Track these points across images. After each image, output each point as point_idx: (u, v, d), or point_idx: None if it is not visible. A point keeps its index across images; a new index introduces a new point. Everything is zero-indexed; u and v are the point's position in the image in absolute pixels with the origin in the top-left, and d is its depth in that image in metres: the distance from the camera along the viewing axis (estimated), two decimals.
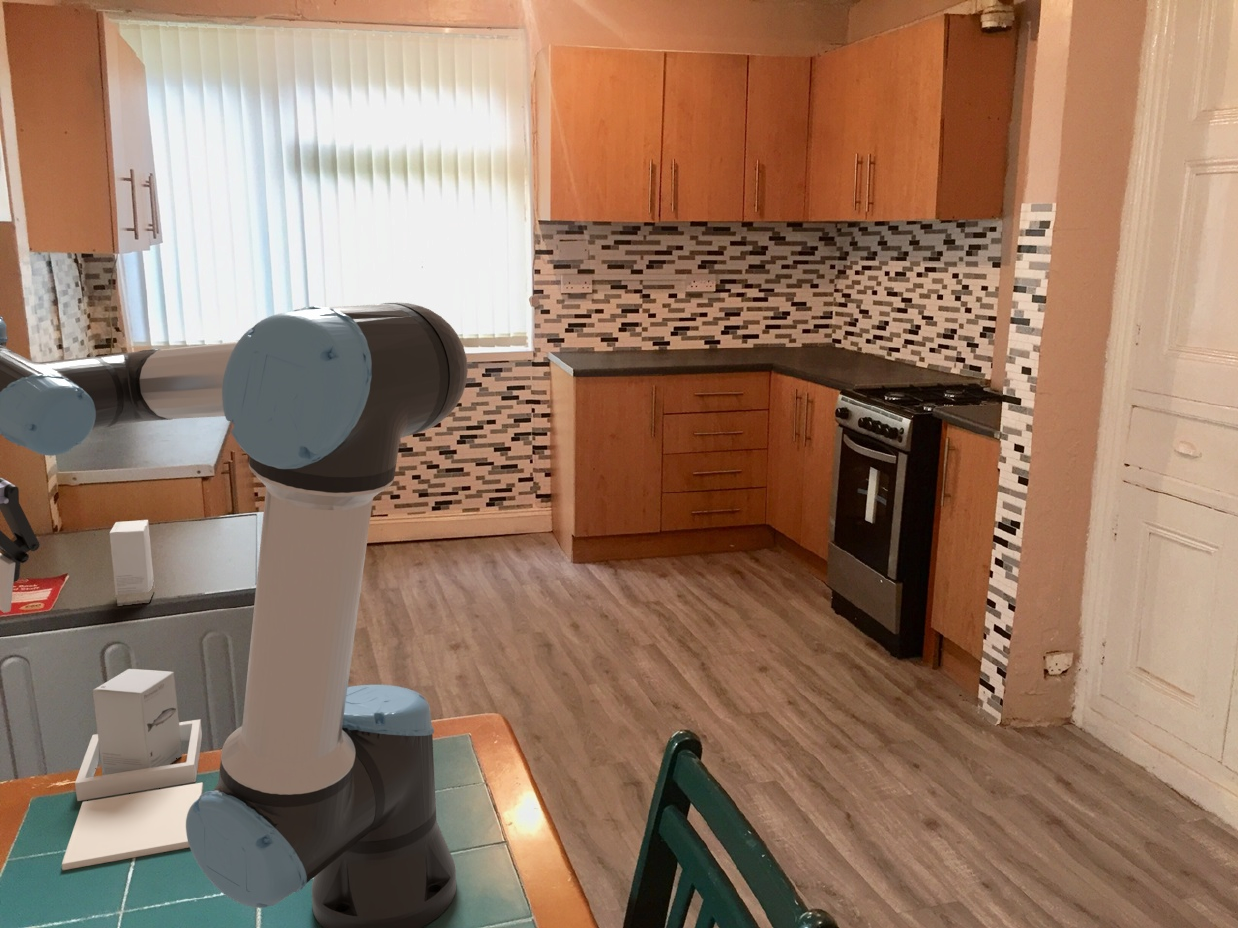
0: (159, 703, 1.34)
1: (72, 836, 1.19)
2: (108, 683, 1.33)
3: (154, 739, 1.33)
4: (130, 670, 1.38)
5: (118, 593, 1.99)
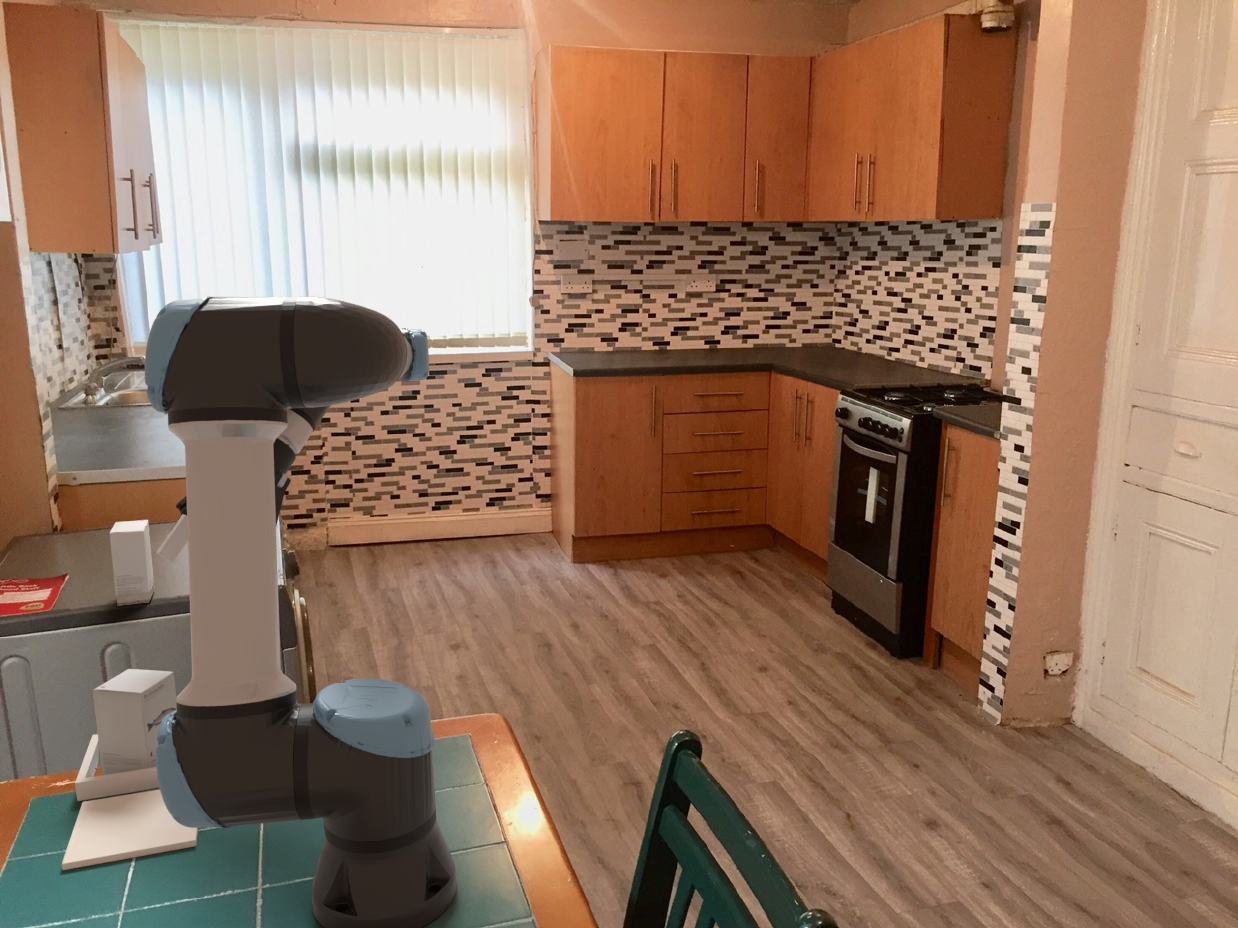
0: (159, 703, 1.34)
1: (72, 836, 1.19)
2: (108, 683, 1.33)
3: (154, 739, 1.33)
4: (130, 670, 1.38)
5: (118, 593, 1.99)
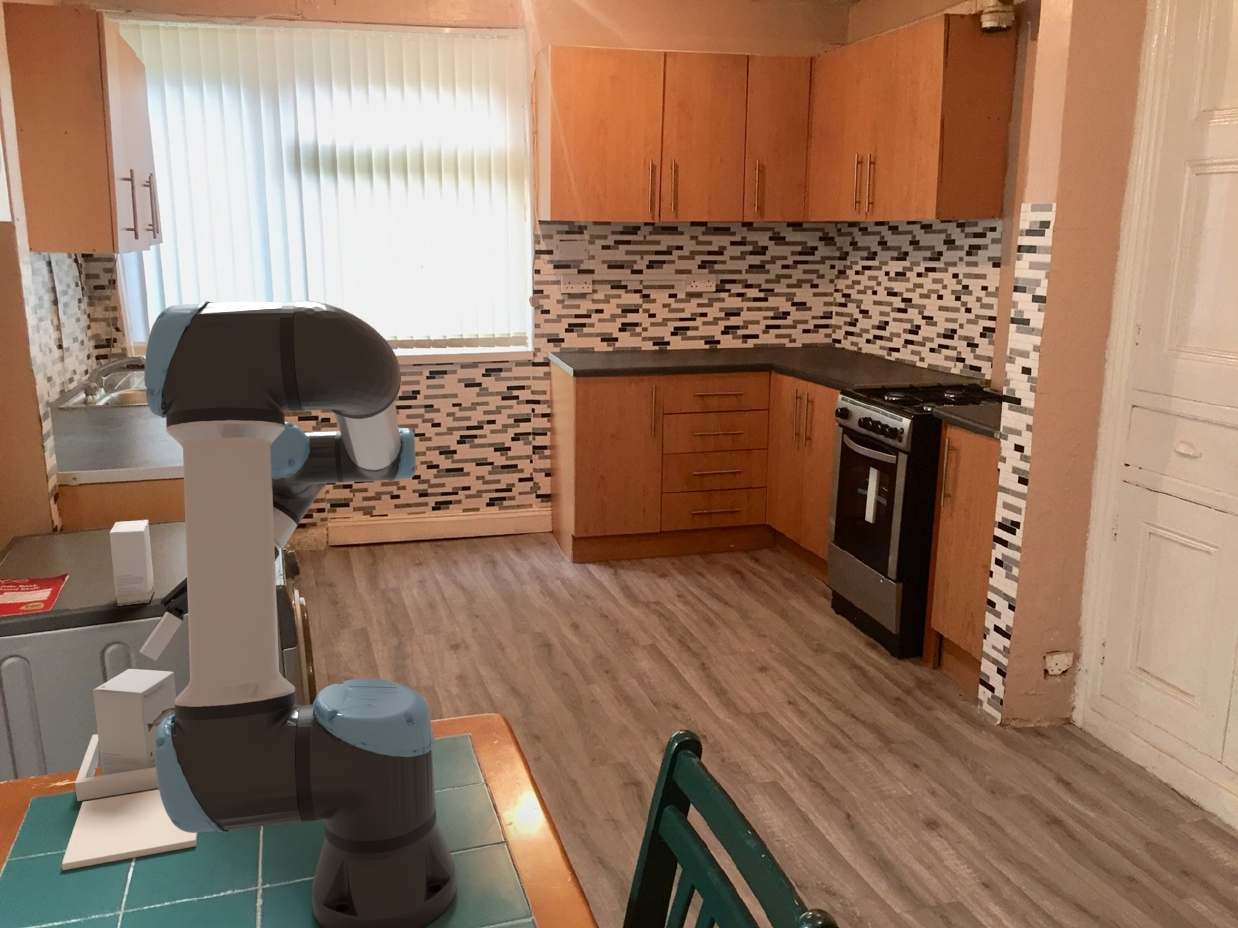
0: (159, 703, 1.34)
1: (72, 836, 1.19)
2: (108, 683, 1.33)
3: (154, 739, 1.33)
4: (130, 670, 1.38)
5: (118, 593, 1.99)
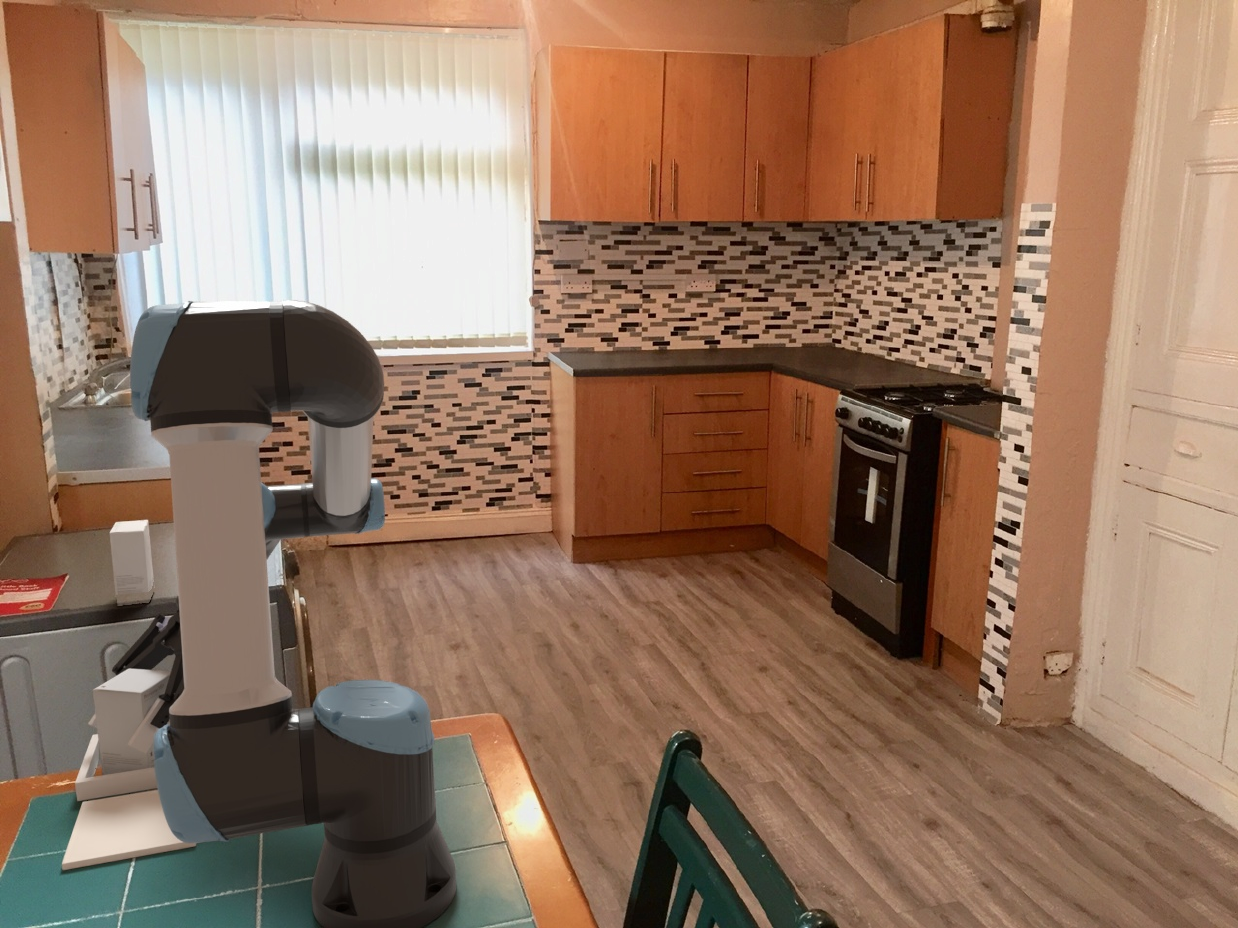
0: None
1: (72, 836, 1.19)
2: (108, 683, 1.33)
3: None
4: (130, 670, 1.38)
5: (118, 593, 1.99)
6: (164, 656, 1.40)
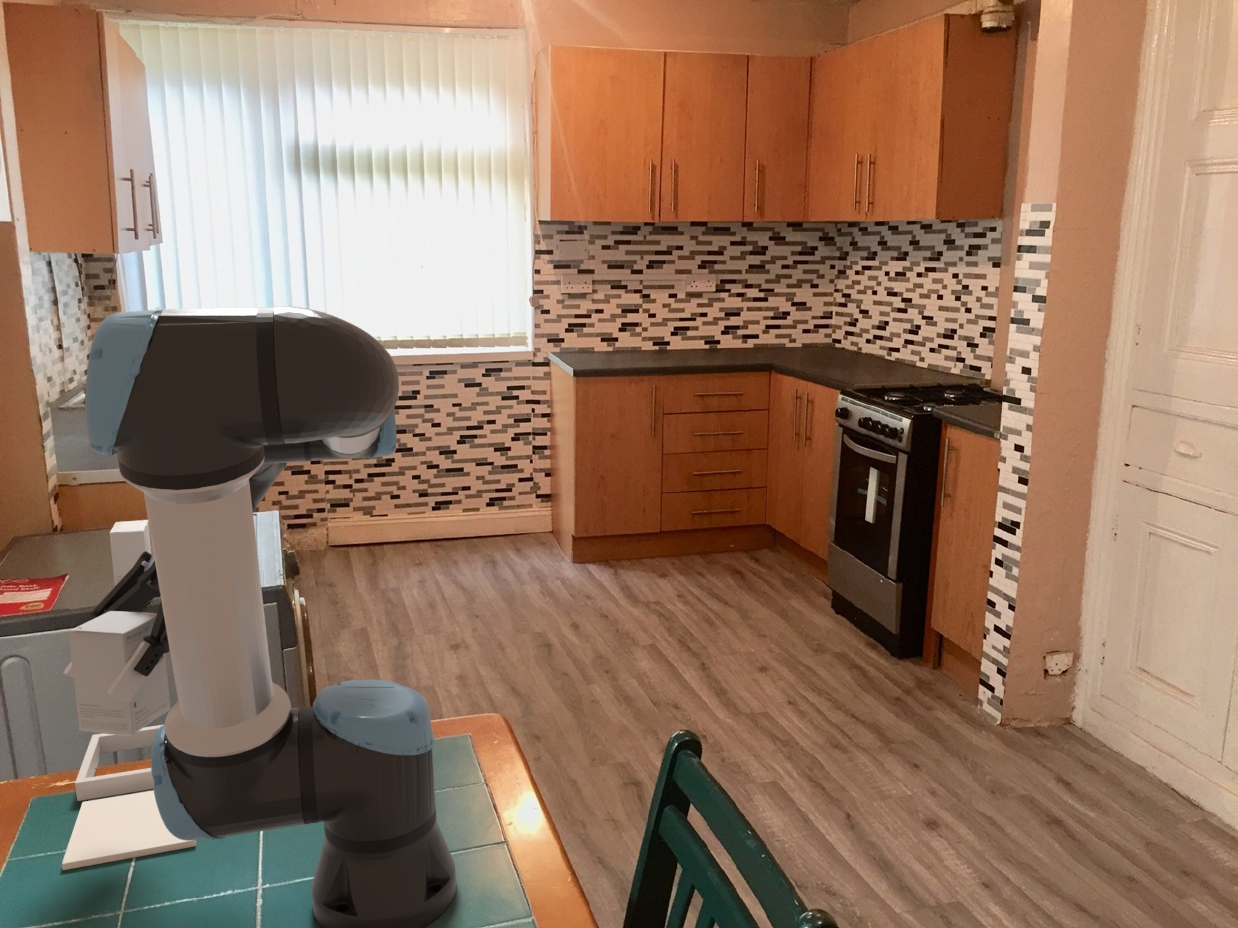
0: None
1: (72, 836, 1.19)
2: (85, 625, 1.17)
3: None
4: (111, 612, 1.21)
5: None
6: (150, 598, 1.24)
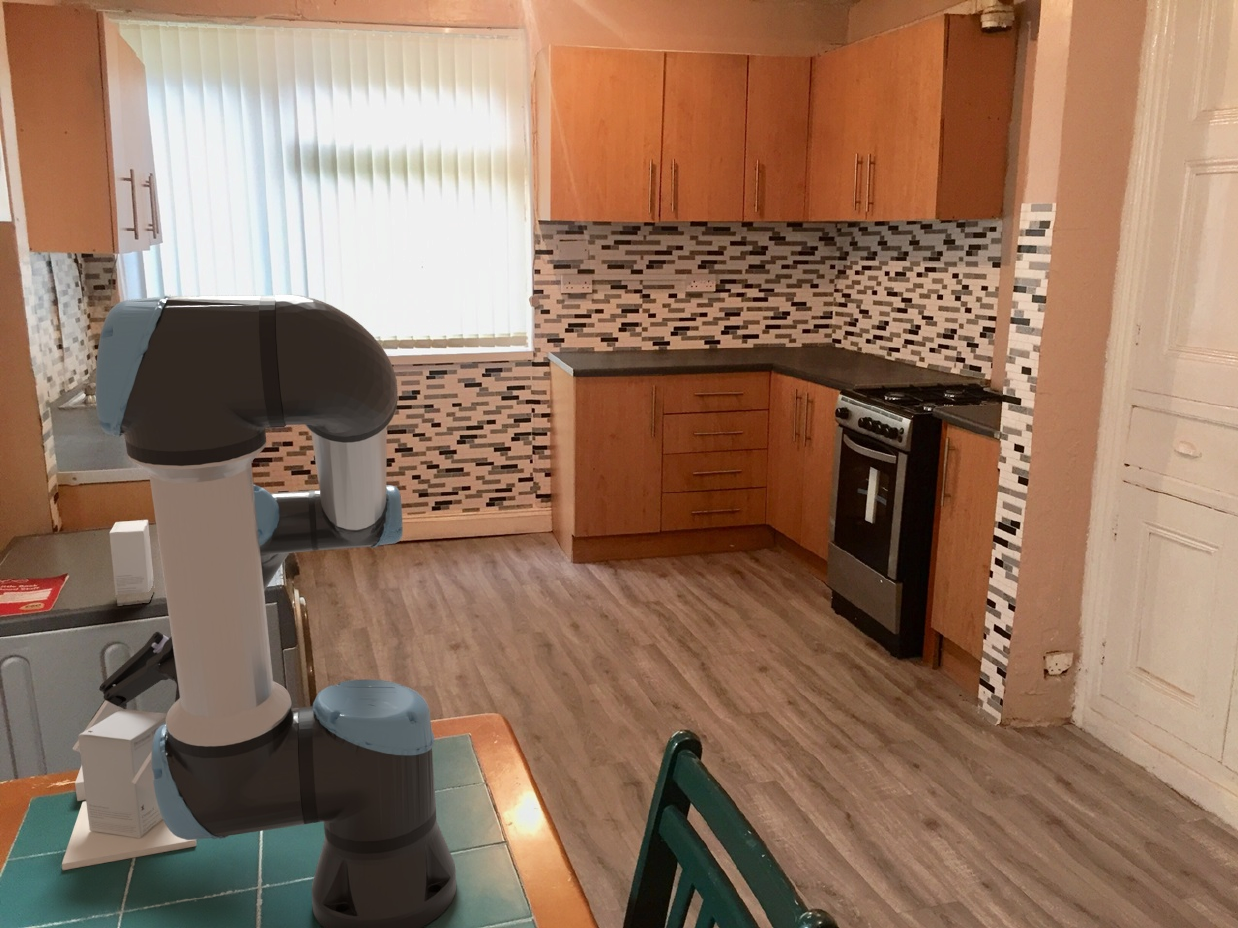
0: None
1: (72, 836, 1.19)
2: (95, 727, 1.19)
3: (145, 791, 1.18)
4: (122, 711, 1.23)
5: (118, 593, 1.99)
6: (157, 680, 1.26)
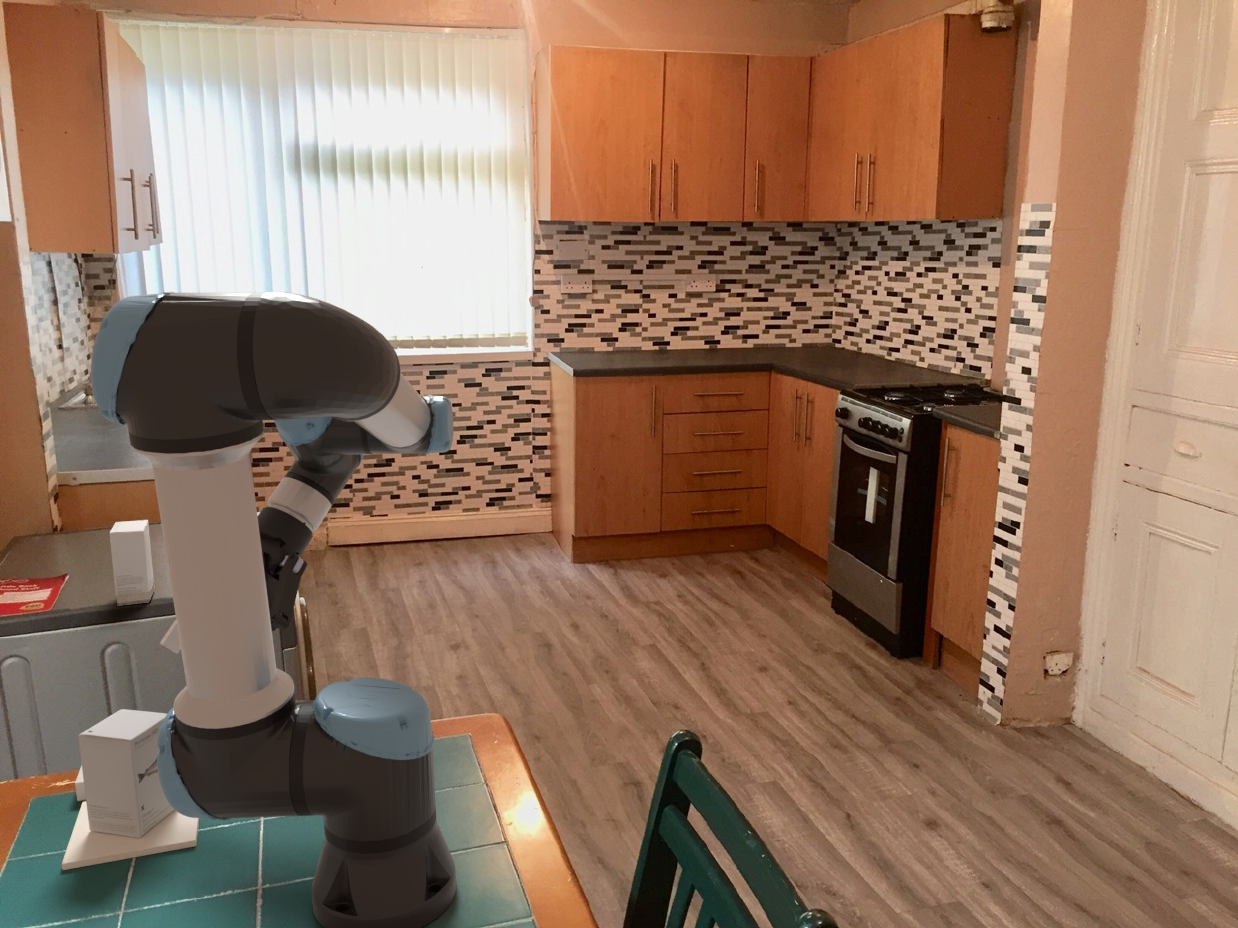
0: (152, 750, 1.19)
1: (72, 836, 1.19)
2: (95, 727, 1.19)
3: (145, 791, 1.18)
4: (122, 711, 1.23)
5: (118, 593, 1.99)
6: None
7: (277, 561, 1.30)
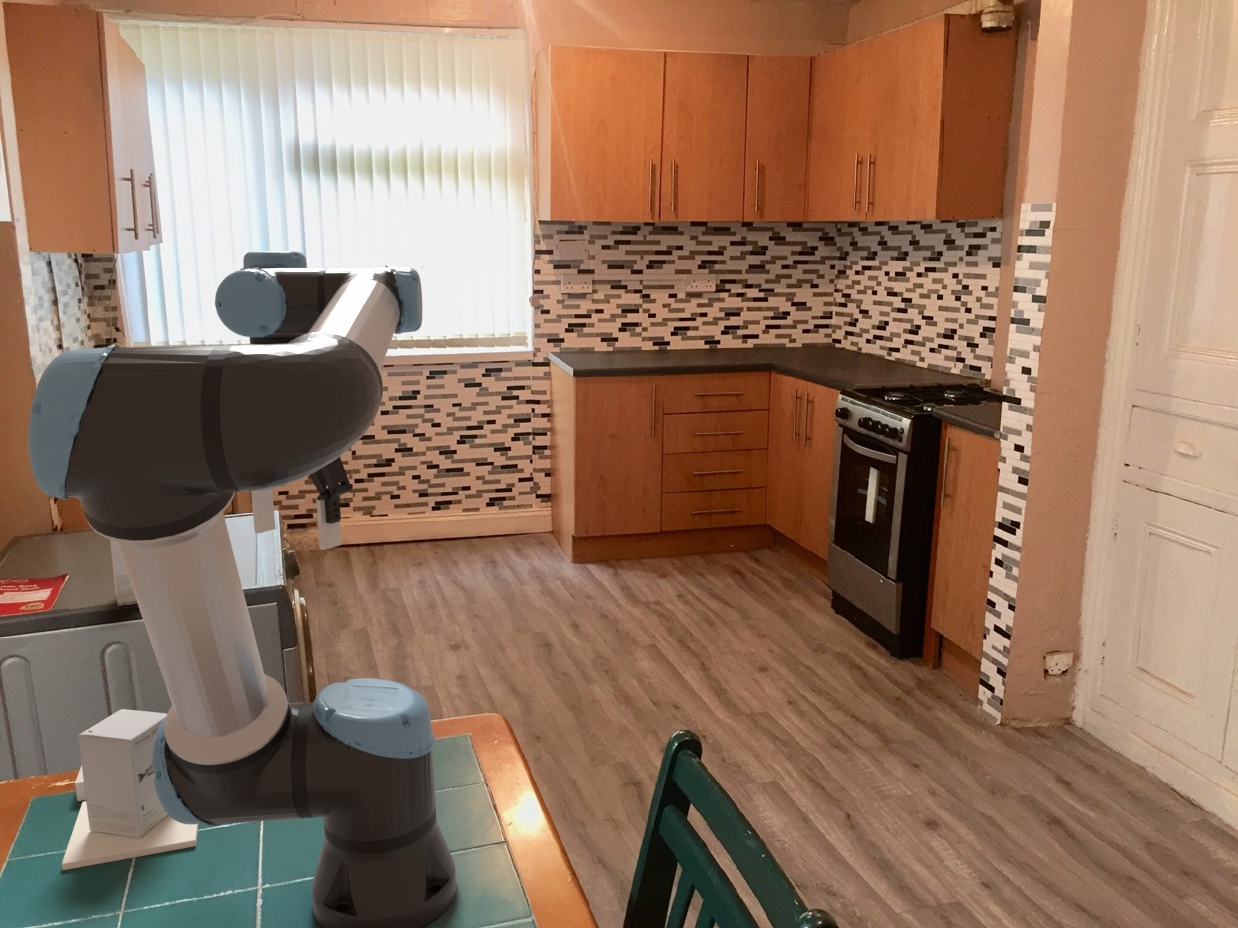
0: (152, 750, 1.19)
1: (72, 836, 1.19)
2: (95, 727, 1.19)
3: (145, 791, 1.18)
4: (122, 711, 1.23)
5: (118, 593, 1.99)
6: None
7: None
